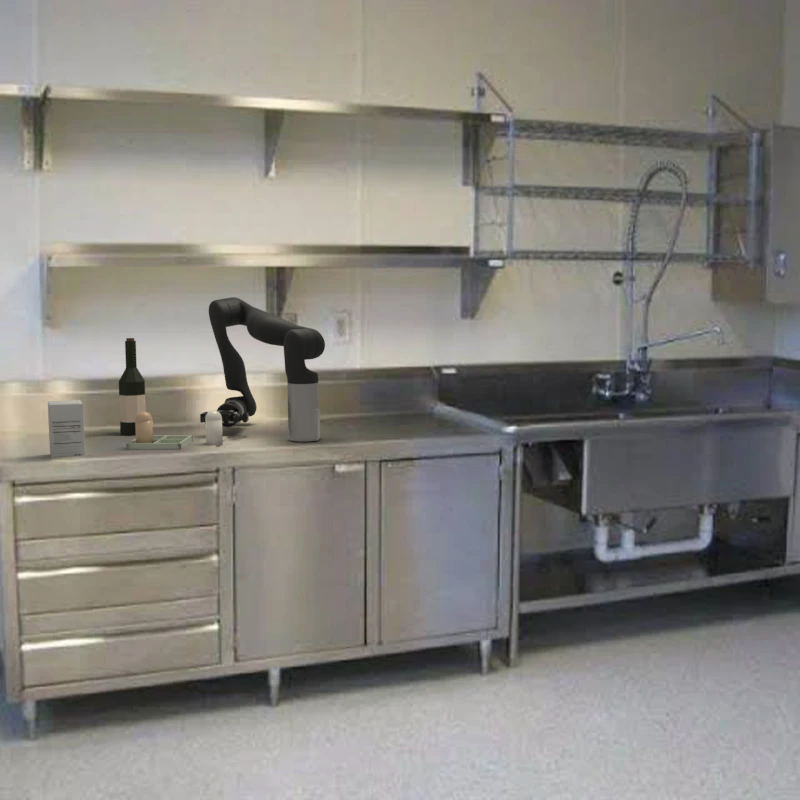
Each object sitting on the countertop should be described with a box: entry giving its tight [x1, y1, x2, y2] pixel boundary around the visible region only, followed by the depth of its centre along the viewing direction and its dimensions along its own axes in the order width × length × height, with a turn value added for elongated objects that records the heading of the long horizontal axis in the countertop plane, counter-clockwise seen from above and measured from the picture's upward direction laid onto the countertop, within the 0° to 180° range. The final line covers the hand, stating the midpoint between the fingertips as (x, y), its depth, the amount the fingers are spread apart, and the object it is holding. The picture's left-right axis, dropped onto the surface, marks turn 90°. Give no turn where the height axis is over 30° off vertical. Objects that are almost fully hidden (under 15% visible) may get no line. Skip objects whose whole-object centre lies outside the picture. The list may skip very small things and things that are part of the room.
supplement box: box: [47, 399, 86, 459], centre depth 286 cm, size 9×9×15 cm
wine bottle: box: [118, 337, 147, 437], centre depth 324 cm, size 8×8×30 cm
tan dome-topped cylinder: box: [135, 411, 154, 443], centre depth 297 cm, size 5×5×10 cm
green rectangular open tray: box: [125, 434, 194, 450], centre depth 301 cm, size 15×15×2 cm
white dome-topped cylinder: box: [204, 410, 224, 447], centre depth 303 cm, size 5×5×10 cm
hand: (220, 420), depth 312 cm, fingers open, 8 cm apart
